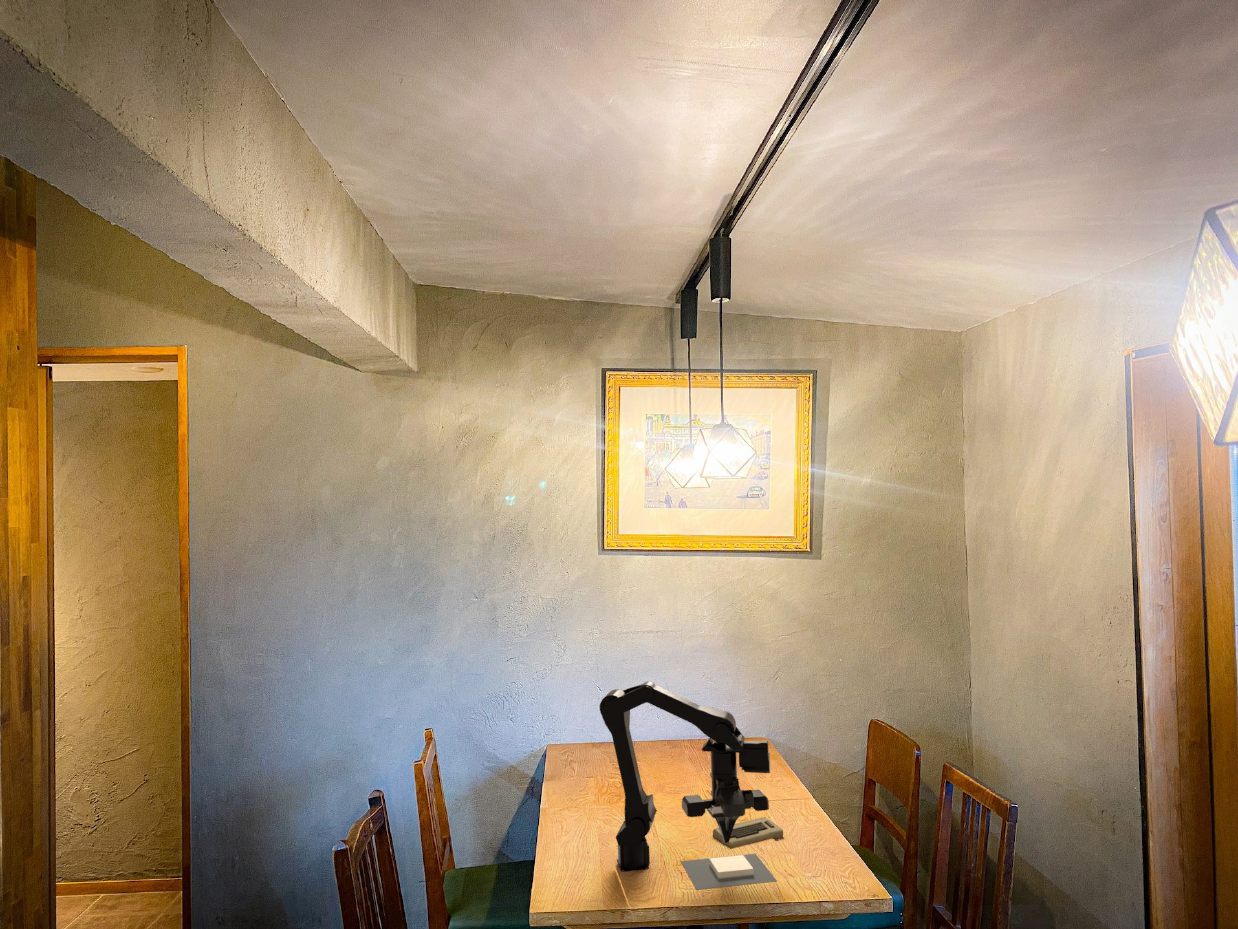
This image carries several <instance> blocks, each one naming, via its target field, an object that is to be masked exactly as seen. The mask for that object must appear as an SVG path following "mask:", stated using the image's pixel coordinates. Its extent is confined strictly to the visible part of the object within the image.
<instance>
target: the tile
mask: <svg viewBox="0 0 1238 929" xmlns="http://www.w3.org/2000/svg"><path fill="white" fill-rule="evenodd" d="M743 855H744V854H739V856H736V855H728V856H729V857H727V856H718V857H719V858H717V857H709V864H710V867H711V868H712V870H713V872H714V873H715V875H716V876H717V878H718V879H727V878H737V877H746V876H754V871H753V867H752V866H751V865H750V863H749V862H748V861H747V860H746V858H745V857H744V856H743Z"/></svg>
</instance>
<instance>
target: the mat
mask: <svg viewBox="0 0 1238 929" xmlns="http://www.w3.org/2000/svg"><path fill="white" fill-rule="evenodd" d="M739 855H740V854H739ZM739 855H735V856H739ZM742 855H743V856H744V857H745V858H746V860H747V861H748V862H749V863H750V865H751V866H752V867H753V871H754V876H746V877H737V878H727V879H718V878H717V876H716V875H715V873H714V872H713V870H712V868H711V867H710V864H709V858H710V857H709V858H700V859H688V860H687V859H686V860H681V861H680V863H681V865H682V867H683V869H684V870H685V872H686V874H687V875H688V878H689V879H690V881H691V883H692V884H693V886H694V888H695V890H696V891H699V890H700V891H701V890H709V889H718V888H729V887H730V888H731V887H738V886H746V885H747V886H748V885H754V884H755V885H756V884H764V883H765V884H767V883H775V882H778V880H777V879H776V877H775V876H774V875H773V874H772V873H771V871H770V869H768V868H767V866H766V865H765V864H764V862H763V861H762V860H761V859H760V858H759V856H758V855H757V853H748V854H742ZM729 856H730V855H728V856H726V857H729ZM719 857H720V856H718V857H716V858H719Z"/></svg>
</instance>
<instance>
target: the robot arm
mask: <svg viewBox="0 0 1238 929" xmlns="http://www.w3.org/2000/svg"><path fill="white" fill-rule="evenodd" d="M646 703H647V704H650V705H652V706H654V707H656V708H658V709H660V710H662V711H665V712H667V713H669V714H670V715H673V716H675V717H677V718H679V719H681V720H684V721H685V722H687V723H690V724H692V725H693V726H695V727H697V729H698V730H700V732H702V733H703V734H704V735H705V736H707V737H708V739H707V741H705V743H703V745H702V748H701V751H702V752H708V753H709V752H710V768H711V770H710V773H709V774H710V775H709V776H710V778H711V790H710V796H711V798H708V799H703V798H702V797H701V796H700V795H699V794H691V795H690V794H689V795H684V796H683V798H681V809H682V810H683V812H684V814H685V815H686V816H687V817H688V818H697V817H698V818H699V817H703V816H704V815H705V813H706V811H707V812H708V814H709V815H710V816H711V818H713V819H715V822H716V824H717V828H719V829H720V832H721V835H722V837H723V840H724V842H725V843H729V840H730V837H731V834H732V830H733V827H734V825H735V824H736V822H737V821H738V819H739V818H740V817H744V816H745V815H746V810H748V809H749V810H750V809H754V810H755V811H756V812H760V811H761V812H762V811H768V810H769V809H770V806H769V802H770V801H769V798H768V797H767V796H766V795H765V794H764V793H763V792H762V791H761V790H760V789H758V788H757V789H741V787H740V782H739V778H738V769H737V753H738V765H739V767H738V768H741V771H744V773H752V774H753V773H755V774H771V761H770V760H771V755H770V751H769V749H770V748H769V741H768V740H765V739H764V740H763V739H761V740H745V739H746V737H745V736H744V735H743V733H742V732H741V731H740V730H739V727H737V722H736V719H735V716H734V715H733V714H732V713H731V712H728V711H726V710H722V709H719V708H715V707H707V706H702V705H699V704H697V703H695V702H693V701H691V700H688V699H687V698H684V697H682V696H680V695H677V694H676V693H674V692H671V691H670V690H667V689H666V688H664V687H660V686H658V685H656V683H655V682H652V681H645V682H643V683H641V684H639V685H635V686H632V687H628V688H625V689H624V690H622V689H613V690H610V691H609V692H608V693H607V694H605V696H604V697H603V698H602V699H601V700H600V703H599V713H600V715H601V717H602V720H603V723H604V725H605V726H606V728H607V729H608V731H609V733H610V734H611V738H612V742H613V746H614V750H615V756H616V759H617V760H616V761H617V765H618V769H619V773H620V779H621V782H622V783H621V784H622V787H623V792H624V821H623V822H622V824H621V826H620V828H619V829H618V831H617V833H616V835H615V839H616V842H617V858H616V863H617V865H618V867H619V870H620V872H622V873H626V872H636V871H644V870H649V869H650V867H649V865H650V863H651V862H650V860H651V859H650V845H649V844H648V839H647V837H646V836H647V835H648V834H649V833H650V830H651V828H652V825H653V823H654V821H655V818H656V817H655V816H656V814H657V812H658V810H657V808H656V807H655V803H654V794H649V795H648V794H647V793H646V791H645V790H644V788H643V784H642V778H641V774H640V771H639V767H638V762H637V756H636V751H635V748H634V743H633V737H632V735H631V729H630V722H631V720H630V719H631V710H632V709H635V708H638V707H640V706H641V705H644V704H646Z"/></svg>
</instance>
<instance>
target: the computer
mask: <svg viewBox="0 0 1238 929" xmlns="http://www.w3.org/2000/svg"><path fill="white" fill-rule="evenodd" d="M712 837H714V838H715V839H716V840H718V841H720V842H721V843H723V845H726V846H727V847H729V848H730V849H732V848H737V847H740V846H745V845H748V844H752V843H756V842H760V841H764V840H768V839H773V840H775V839H780V838H783V837H784V829H783V828H782V827H780V826H779V825H778V824H777V823H775V822H774V821H773V820H772V819H770V818H768V817H766V816H762V817H757V818H753V819H750V820H749V819H748V820H745V821H740V822H737V823H736V822H735V825H734V827H733V830H732V834H731V837H730V840H729V843H725V842H724V840H723V837H722V835H721V832H720V829H719V827H716V828H713V830H712Z"/></svg>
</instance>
